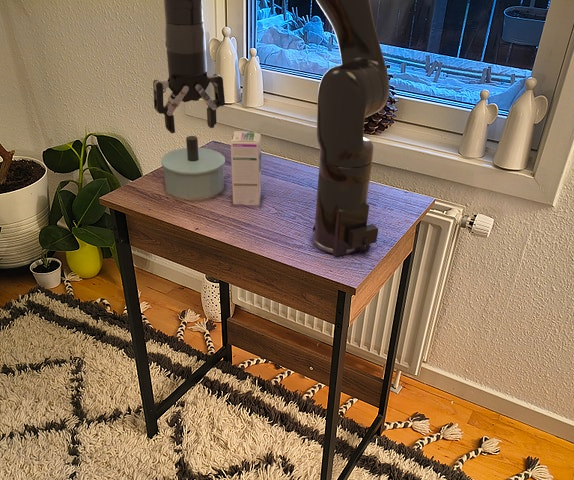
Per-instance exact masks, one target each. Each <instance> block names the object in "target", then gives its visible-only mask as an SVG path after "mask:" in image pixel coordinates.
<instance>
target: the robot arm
mask: <svg viewBox="0 0 574 480" xmlns="http://www.w3.org/2000/svg"><path fill="white" fill-rule="evenodd" d="M315 1H316V3H317V4H318V5H319V7H320V9H321V10H322V12H323V13H324V16H325V17H326V18H327V20H328V21H329V23H330V25H331V27H332V29H333V32H334V34H335V38H336V41H337V46H338V50H339V54H340V61H341V64H338V65H335V66H332V67H330V68H329V69H328V70H326V72H324V74H323V76H322V77H321V79H320V82H319V86H318V90H317V99H316V139H317V143H318V146H319V161H318V162H319V163H318V175H317V188H316V189H317V190H316V202H315V214H314V215H315V217H314V225H313V228H312V233H313V236H312V242H313V244H314V246H315V247H316V248H317V249H318V250H320V251H323V252H324V253H328V254H332V255H333V256H335V257H342V256H345V255H350V254H354V253H357V252H361V253H362V254H366V253H368V252H369V251H370V249H371V248H370V247H371V245H372V244H375V243H377V241H378V235H379V228H378V227H377V226H376V225H375V224H374V223H371V224H368V220H369V213H370V204H368V196H369V188H370V181H371V175H372V167H373V158H374V150H375V149H374V144H373V142H372V141H371V140H370V139H369V138H367V137H365V136H364V132H365V131H364V130H365V119H366V118H368V117H370V116H372V115H374V114H377V113H379V112H380V111H381V110H382V109H384V107H385V105H386V104H387V102H388V100H389V96H390V79H389V73H388V70H387V65H386V62H385V59H384V55H383V51H382V47H381V43H380V40H379V37H378V33H377V29H376V26H375V22H374V21H375V20H374V16H373V12H372V11H373V10H372V6H371V0H315ZM163 8H164V18H165V34H164V35H165V36H164V37H165V42H164V43H165V48H166V58H167V59H166V60H167V70H168V78H167V80H161V81H160V80H159V79H154V80H153V82H152V89H153V108H154V110H155V111H156V112H157V113H158V114H160V115H161V114H162V115H164V125H165V126H164V127H165V129H166V130H167V131H168V132H169V133H170V134H175V133H176V128H175V115H174V112H175V111H176V109H177V108H178V107H179V106H180V105H181V103H187V102H191V101H193V102H197V101H198V102H199V101H200V100H201V101H203V102H204V103H205V104H206V106H207V107H206V122H207V126H208V128H210V129H214V128H215V126H216V125H217V109H218V108H220V107H224V106H225V105H226V100H225V99H226V98H225V90H224V89H225V88H224V79H223V77H222V76H221V75H220V74H218V73H214V74H213V75H210V76H208V64H207V46H206V45H207V43H206V41H207V40H206V31H205V25H204V11H203V10H204V9H203V0H163ZM210 85H211V86H212V87H213V89H214V90H213V93H214V99H212V98H211V96H210V95H209V94H208V93H207V92H206V91H207V89H208V87H209V86H210ZM167 89H169V90H170V91H171V92H170V94H169V96H168V98H167V102H166V103H165V105H164V94H165V93H166V91H167Z"/></svg>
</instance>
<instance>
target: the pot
mask: <svg viewBox="0 0 574 480" xmlns="http://www.w3.org/2000/svg"><path fill="white" fill-rule="evenodd" d="M163 174H164V184H165V191H166V193H167V194H168V195H169V196H170V197H172V196H174V197H176V198H180V199H185V200H201V199H207V198H211V197H214V196H217V195H219V194H220V193H221V191H223V190H224V183H225V182H224V181H225V180H224V165H223V166H222V167H221V168H219V169H218V170H215V171H213V172H209V173H204V174H193V175H190V174H179V173H175V172H171V171H169V170H167V169H165V168H164V167H163Z"/></svg>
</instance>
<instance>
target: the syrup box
mask: <svg viewBox="0 0 574 480" xmlns="http://www.w3.org/2000/svg"><path fill="white" fill-rule="evenodd" d="M230 155H231V156H230V157H231V158H230V161H231V163H230V165H231V189H232V191H231V192H232V204H233V205H246V206H247V205H248V206H249V205H250V206H251V205H252V206H260V203H261V198H262V135H261V132H259V131H255V130H234V131H233V133H232V135H231V139H230Z"/></svg>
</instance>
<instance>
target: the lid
mask: <svg viewBox="0 0 574 480" xmlns="http://www.w3.org/2000/svg"><path fill="white" fill-rule="evenodd" d="M185 143H186V147H181V148H177V149H174V150H171V151H168V152H167V153H165V154H163V156H162V157H161V159H160V163H161V166H162V168H163V169H164V168H165V169H167V170H169V171H171V172H175V173H179V174H190V175H193V174H204V173H209V172H213V171H215V170H218V169H219V168H221V167H222V166H223V167H224V165H225V164H226V158H225V156H224V154H222V153H221V152H219V151H217V150H214V149H212V148H211V149H210V148H205V147H199V137H198V136H197V135H189V136H186V137H185Z"/></svg>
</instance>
